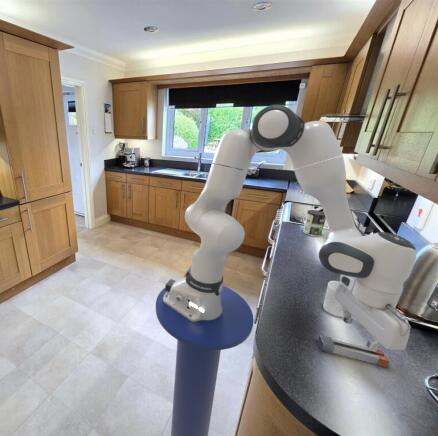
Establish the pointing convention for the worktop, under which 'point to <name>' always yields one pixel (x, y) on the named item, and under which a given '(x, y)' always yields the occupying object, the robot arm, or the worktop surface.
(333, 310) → the white cup
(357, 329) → the worktop surface
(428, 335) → the worktop surface
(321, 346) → the tongs
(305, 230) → the coffee can
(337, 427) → the worktop surface
